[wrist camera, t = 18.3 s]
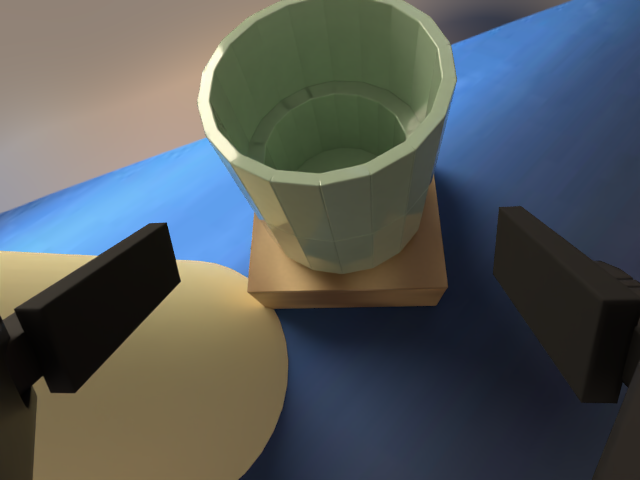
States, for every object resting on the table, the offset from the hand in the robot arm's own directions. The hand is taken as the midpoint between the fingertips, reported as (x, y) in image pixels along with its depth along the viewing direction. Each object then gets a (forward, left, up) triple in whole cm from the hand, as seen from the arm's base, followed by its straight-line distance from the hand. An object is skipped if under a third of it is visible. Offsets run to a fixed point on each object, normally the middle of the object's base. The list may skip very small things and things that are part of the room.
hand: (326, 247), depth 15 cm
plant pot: (0, -7, -10) cm, 12 cm away
